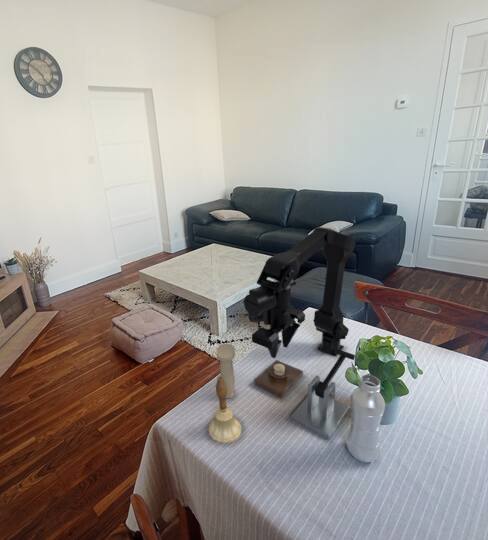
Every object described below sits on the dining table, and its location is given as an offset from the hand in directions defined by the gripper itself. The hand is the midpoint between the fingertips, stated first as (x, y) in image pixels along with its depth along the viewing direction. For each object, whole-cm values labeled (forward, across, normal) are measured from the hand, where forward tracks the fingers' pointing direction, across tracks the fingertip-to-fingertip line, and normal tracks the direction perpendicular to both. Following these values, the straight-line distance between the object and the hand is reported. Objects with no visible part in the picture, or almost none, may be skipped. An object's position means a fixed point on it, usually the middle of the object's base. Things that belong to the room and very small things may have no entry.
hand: (279, 352), depth 96 cm
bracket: (+10, +5, +15) cm, 19 cm away
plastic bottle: (+10, +10, +27) cm, 30 cm away
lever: (+2, -2, +15) cm, 15 cm away
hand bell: (+10, +24, -1) cm, 26 cm away
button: (+7, 0, 0) cm, 7 cm away
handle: (+10, +14, -8) cm, 19 cm away
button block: (+10, 0, 0) cm, 10 cm away
